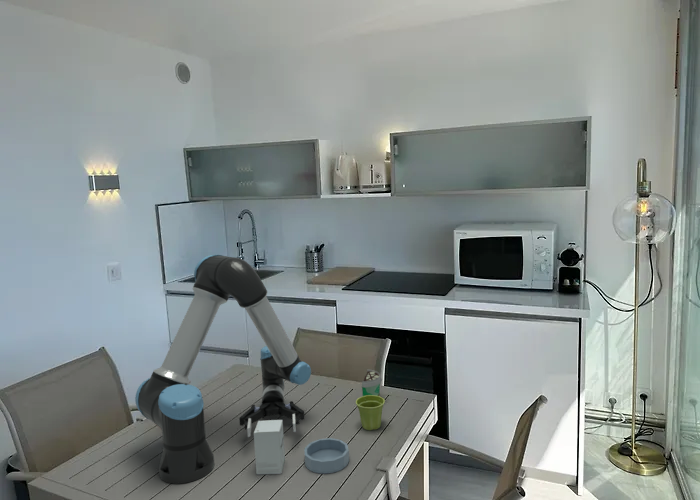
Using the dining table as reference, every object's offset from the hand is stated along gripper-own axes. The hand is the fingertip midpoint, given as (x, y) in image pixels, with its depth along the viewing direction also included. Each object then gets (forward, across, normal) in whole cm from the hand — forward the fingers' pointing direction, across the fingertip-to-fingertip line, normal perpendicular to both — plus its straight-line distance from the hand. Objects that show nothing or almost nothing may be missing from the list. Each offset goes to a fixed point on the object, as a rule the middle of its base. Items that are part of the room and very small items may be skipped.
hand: (271, 430), depth 154 cm
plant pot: (-9, -32, -7) cm, 34 cm away
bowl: (+8, -16, -7) cm, 19 cm away
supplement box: (+8, 0, -7) cm, 11 cm away
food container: (-27, -36, -7) cm, 46 cm away
